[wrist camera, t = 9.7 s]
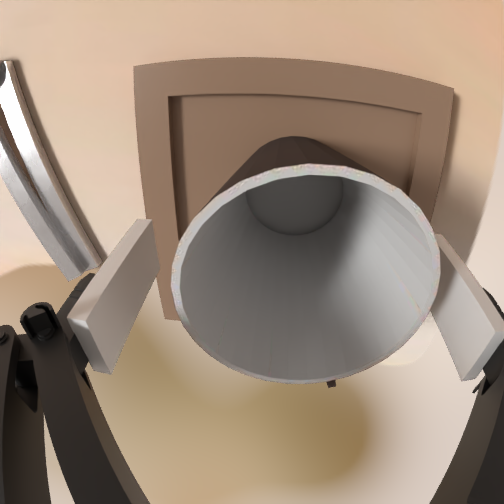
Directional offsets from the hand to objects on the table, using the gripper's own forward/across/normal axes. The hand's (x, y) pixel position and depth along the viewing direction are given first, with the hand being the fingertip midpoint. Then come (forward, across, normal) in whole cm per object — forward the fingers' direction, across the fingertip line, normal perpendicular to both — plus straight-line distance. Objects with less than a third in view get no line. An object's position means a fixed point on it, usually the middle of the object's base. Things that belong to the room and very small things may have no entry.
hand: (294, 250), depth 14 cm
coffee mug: (+5, 0, -1) cm, 5 cm away
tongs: (+6, -19, +2) cm, 20 cm away
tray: (+6, 0, -1) cm, 6 cm away
